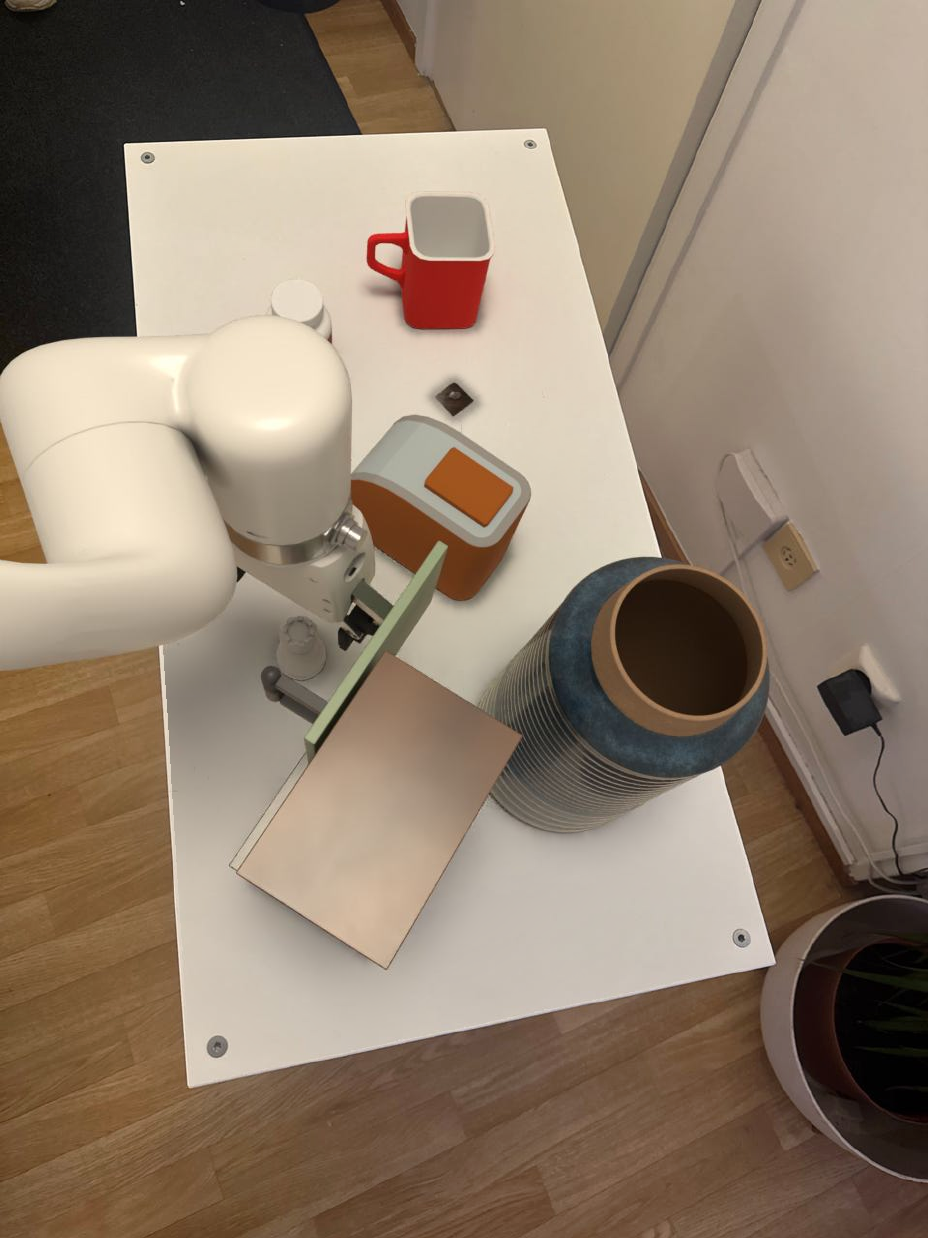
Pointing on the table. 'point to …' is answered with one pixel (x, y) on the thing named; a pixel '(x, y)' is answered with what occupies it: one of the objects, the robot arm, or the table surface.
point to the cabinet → (378, 809)
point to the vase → (629, 692)
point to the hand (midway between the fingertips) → (299, 599)
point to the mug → (440, 258)
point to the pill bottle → (301, 305)
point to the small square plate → (454, 398)
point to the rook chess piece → (300, 648)
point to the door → (384, 639)
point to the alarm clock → (439, 501)
